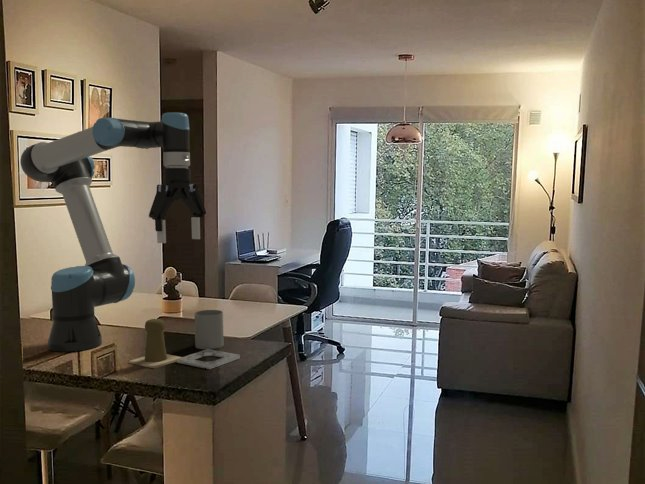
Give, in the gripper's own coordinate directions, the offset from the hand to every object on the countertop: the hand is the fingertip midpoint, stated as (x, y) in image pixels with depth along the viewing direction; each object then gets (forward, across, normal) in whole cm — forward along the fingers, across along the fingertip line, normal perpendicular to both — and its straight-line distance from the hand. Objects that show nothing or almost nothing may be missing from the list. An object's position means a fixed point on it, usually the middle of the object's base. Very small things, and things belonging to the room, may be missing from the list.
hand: (179, 241), depth 183 cm
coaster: (+32, -14, -4) cm, 35 cm away
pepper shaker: (+31, -14, -4) cm, 35 cm away
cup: (+32, +6, -5) cm, 33 cm away
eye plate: (+32, -6, -16) cm, 36 cm away
